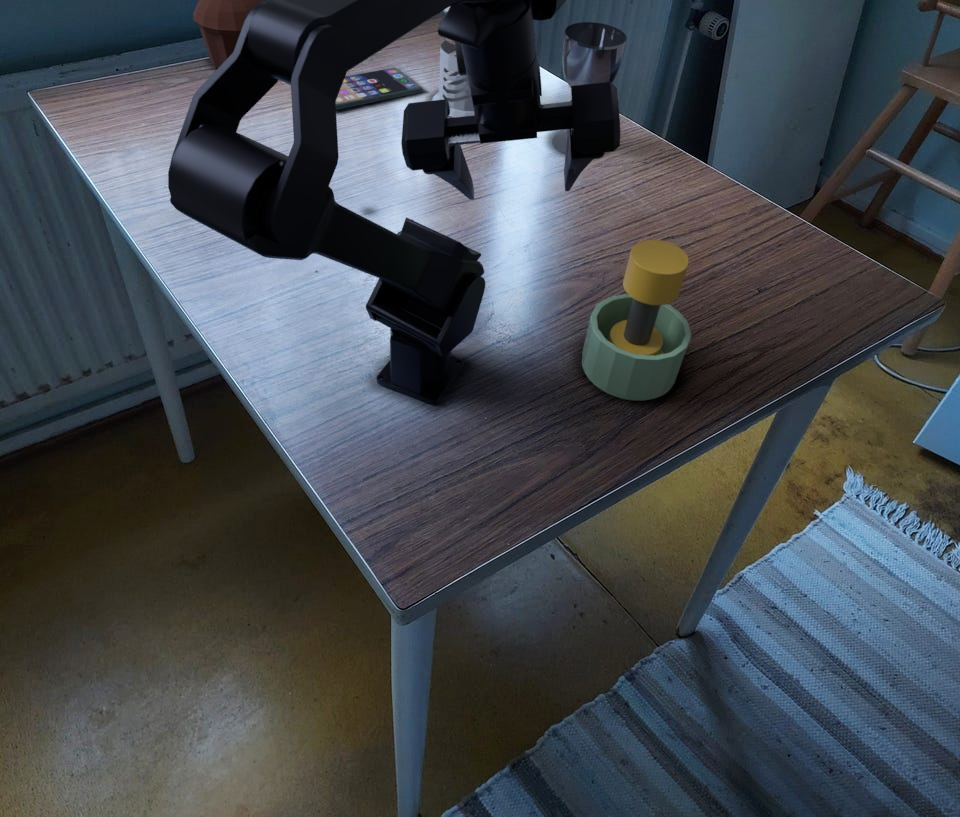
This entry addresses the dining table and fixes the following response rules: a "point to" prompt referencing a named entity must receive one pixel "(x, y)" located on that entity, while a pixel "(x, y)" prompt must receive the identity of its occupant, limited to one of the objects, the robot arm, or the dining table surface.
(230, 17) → the muffin
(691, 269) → the dining table surface
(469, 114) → the french press
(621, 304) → the pot
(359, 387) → the dining table surface
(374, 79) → the smartphone
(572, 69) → the wine glass
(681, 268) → the dumbbell
